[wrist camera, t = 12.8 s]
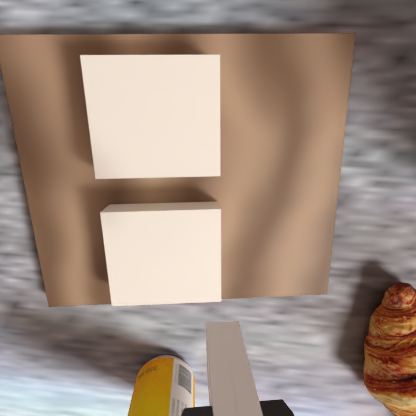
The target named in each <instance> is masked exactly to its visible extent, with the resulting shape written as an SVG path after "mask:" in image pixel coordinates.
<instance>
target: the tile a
mask: <svg viewBox="0 0 416 416" xmlns="http://www.w3.org/2000/svg"><path fill="white" fill-rule="evenodd" d="M80 59H81V67H82V75H83V83H84V91H85V99H86V107H87V115H88V123H89V131H90V139H91V147H92V155H93V163H94V171H95V179H120V178H164V177H208V176H220V55H80Z"/></svg>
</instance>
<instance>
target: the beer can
mask: <svg viewBox="0 0 416 416" xmlns="http://www.w3.org/2000/svg"><path fill="white" fill-rule="evenodd" d="M192 407H195V378H194V374H193V371H192V370H191V368H190V367H189V366H188V365H187V364H186V363H185V362H184V361H183V360H181V359H180V358H178V357H175V356H171V355H163V356H158V357H156V358H153V359H152V360H150V361H149V362H147V363H146V364H145V365H143V366H142V368H141V369H140V370H139V372H138V375H137V378H136V382H135V387H134V391H133V395H132V399H131V404H130V408H129V412H128V416H181V414H182V412H183V409H184V408H192Z"/></svg>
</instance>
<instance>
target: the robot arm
mask: <svg viewBox="0 0 416 416" xmlns="http://www.w3.org/2000/svg"><path fill="white" fill-rule="evenodd" d="M206 345H207V376H208V389H209V402H210V406H204V407H192V408H184V409H183V412H182V414H181V416H294V414H293V412H292V411H291V410H290V408H289V407H288V406H287V405H286V403H285V402H284V401H283V400H269V401H259V399H258V395H257V391H256V387H255V383H254V379H253V376H252V372H251V368H250V364H249V360H248V356H247V353H246V349H245V345H244V341H243V337H242V334H241V330H240V326H239V322H238V321H237V322H221V323H206Z"/></svg>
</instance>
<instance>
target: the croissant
mask: <svg viewBox="0 0 416 416" xmlns="http://www.w3.org/2000/svg"><path fill="white" fill-rule="evenodd" d="M364 354H365V362H364V370H363V371H364V374H363V375H364V384H365V386H366V388H367V390H368V391H369V392H370V393H371V394H372V395H373V396H374V397H375V398H377V399H378V400H379V401H381V402H382V403H383V404H384V405H385V407H386V408H388V409H389V410H390V411H391V412H393V413H394V414H395V415H396V416H416V290H415V289H414V288H413V287H412V286H411V285H410V284H408V283H401V282H398V283H397V284H394V285H392V287H390V288H389V289H388V290H387V291H386V292H385V295H384V298H383V299H382V303H381V304H380V305H379V306H378V307H377V309H375V310H374V312H373V314H372V315H371V318H370V322H369V332H368V335H367V337H366V338H365V342H364Z"/></svg>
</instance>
